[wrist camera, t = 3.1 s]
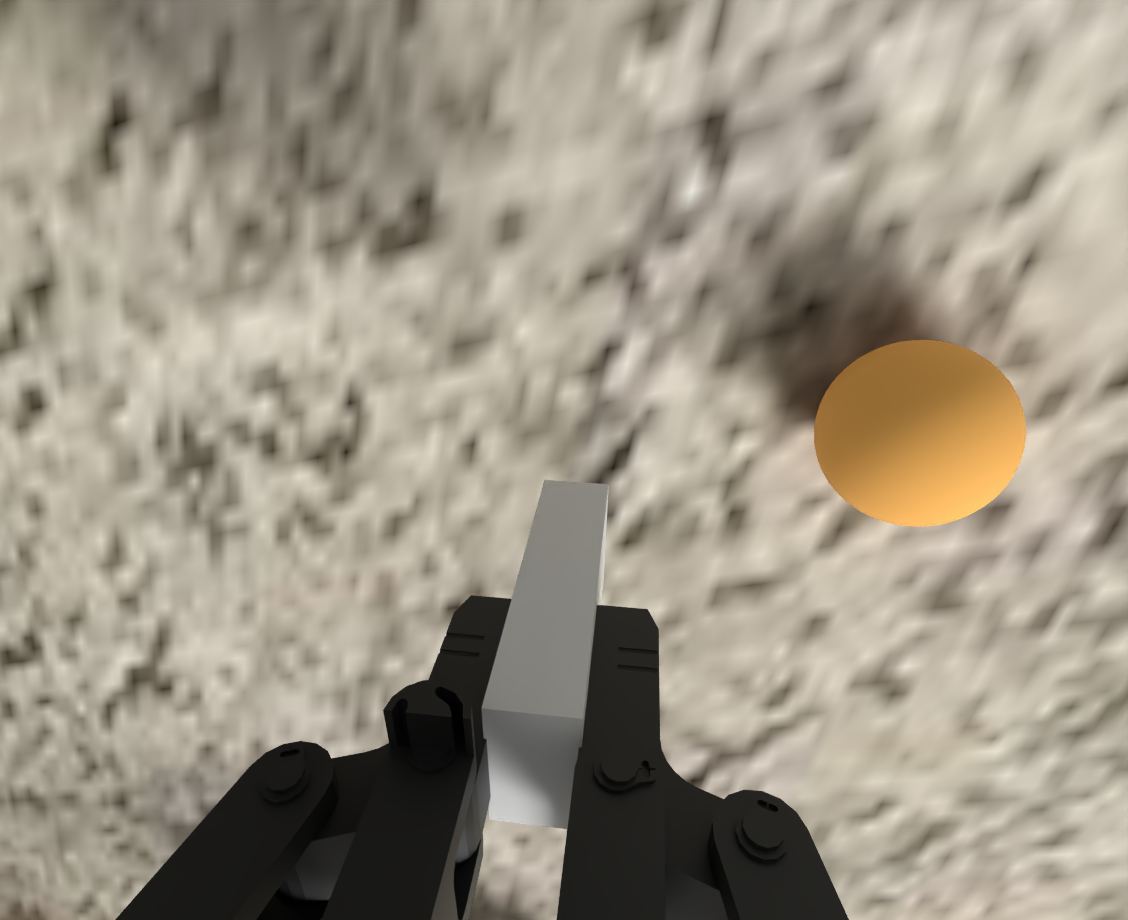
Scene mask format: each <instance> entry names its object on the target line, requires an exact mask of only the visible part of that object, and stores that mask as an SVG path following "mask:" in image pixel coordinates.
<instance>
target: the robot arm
mask: <svg viewBox="0 0 1128 920" xmlns="http://www.w3.org/2000/svg"><path fill="white" fill-rule="evenodd" d="M608 485H609V484H595V483H581V482H566V481H552V480H544V484H543V488H542V491H541V495H540V499H539V502H538V506H537V509H536V513H535V517H534V520H533V524H532V527H531V531H530V535H529V538H528V542H527V546H526V549H525V553H524V556H523V560H522V564H521V567H520V571H519V574H518V578H517V582H516V585H515V589H514V593H513V596H512V599H506V598H495V597H483V596H472V595H471V596H470V597H469V598H468V599H467V600H466V601H465V602H464V603H463V604H462V605H461V606H460V607H459V608H458V609H457V610H456V611H455V612H454V614H453V617H452V620H451V622H450V625H449V628H448V630H447V635H446V637H445V638H444V641H443V643H442V646H441V649H440V653H439V654H438V657H437V659H436V662H435V664H434V667H433V670H432V672H431V675H430V678H429V680H424V681H420V682H417V683H415V684H412V685H409V686H406V687H405V688H403V689H402V690H401V691H399V692H398V693H397V694H395V695H394V696H393V697H392V698H391V700H390V701H389V702H388V704H387V705H386V707H385V708H384V710H383V711H384V717H385V722H386V728H387V733H388V739H389V743H388V744H386V745H384V746H382V747H380V748H378V749H375V750H371V751H368V752H364V753H359V754H353V755H348V756H343V757H338V758H332V759H331V757H330V755H329V753H328V751H327V750H325V749H324V748H322V747H321V746H319V745H318V744H316V743H310V742H303V741H299V742H293V743H288V744H283V745H281V746H279V747H277V748H275V749H273V750H271V751H268V752H266V753H265V754H264V755H263V756H261V757H260V758H259V759H258V760H257V761H256V762H255V763H253V764H252V765H251V766H250V767H249V768H248V769H247V771H246V772H245V773H244V774H243V775H242V776H241V777H240V779H239V780H238V781H237V782H236V783H235V784H234V785H233V787H232V788H231V789H230V790H229V791H228V792H227V793H226V795H225V796H224V797H223V798H222V799H221V800H220V801H219V802H218V804H217V805H216V806H215V807H214V808H213V809H212V810H211V812H210V813H209V814H208V815H207V816H206V817H205V818H204V820H203V821H202V822H201V823H200V824H199V825H198V826H197V827H196V829H195V830H194V831H193V832H192V833H191V834H190V835H189V837H188V838H187V839H186V840H185V841H184V842H183V843H182V845H181V846H180V847H179V848H178V849H177V850H176V851H175V852H174V854H173V855H172V856H171V857H170V858H169V859H168V860H167V862H166V863H165V864H164V865H163V866H162V867H161V868H160V870H159V871H158V872H157V873H156V874H155V875H154V876H153V878H152V879H151V880H150V881H149V882H148V883H147V884H146V885H145V887H144V888H143V889H142V890H141V891H140V892H139V893H138V895H137V896H136V897H135V898H134V899H133V900H132V901H131V903H130V904H129V905H128V906H127V907H126V908H125V909H124V910H123V912H122V913H121V914H120V915H119V916H118V917H117V918H116V920H469V917H470V912H471V908H472V903H473V899H474V894H475V889H476V885H477V880H478V876H479V871H480V867H481V862H482V857H483V833H482V832H483V828H484V823H485V819H486V815H487V810H488V806H489V816H490V820H497V821H505V822H513V823H522V824H530V825H538V826H546V827H555V828H563V829H567V837H566V845H565V854H564V862H563V871H562V879H561V888H560V897H559V905H558V914H557V920H849V919H848V917H847V915H846V912H845V910H844V908H843V906H842V904H841V901H840V899H839V897H838V895H837V893H836V890H835V888H834V886H833V884H832V882H831V879H830V877H829V875H828V873H827V871H826V868H825V866H824V864H823V862H822V860H821V857H820V855H819V853H818V851H817V849H816V846H815V844H814V842H813V840H812V838H811V835H810V833H809V831H808V829H807V827H806V826H805V824H804V823H803V821H802V820H801V818H800V817H799V815H798V814H797V812H796V811H795V810H793V809H792V808H791V807H790V806H788V805H787V804H786V803H785V802H784V801H782V800H781V799H780V798H777V797H775V796H772V795H770V794H768V793H765V792H763V791H753V790H742V791H739V792H736V793H733V794H730V795H728V796H727V797H726V798H725V799H722V798H720V797H717V796H715V795H713V794H710V793H708V792H706V791H704V790H701V789H699V788H697V787H695V786H693V785H692V784H690V783H688V782H686V781H685V780H684V779H683V778H681V777H680V776H679V775H678V774H677V773H676V772H675V771H674V770H673V769H672V768H671V766H670V765H669V764H668V762H667V761H666V758H665V756H664V754H663V752H662V749H661V742H660V708H659V629H658V627H657V626H656V624H655V622H654V620H653V618H652V616H651V615H650V613H649V611H648V609H638V608H627V607H615V606H604V605H601V599H602V589H603V579H604V562H605V543H606V524H607V504H608Z"/></svg>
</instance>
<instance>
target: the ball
mask: <svg viewBox="0 0 1128 920" xmlns="http://www.w3.org/2000/svg"><path fill="white" fill-rule="evenodd" d="M1025 439H1026V423H1025V417H1024V412H1023V407H1022V405H1021V402H1020V399H1019V397H1018V395H1017V393H1016V391H1015V390H1014V388H1013V386H1012V385H1011V383H1010V381H1009V380H1008V379H1007V378H1006V377H1005V376H1004V375H1003V373H1002V372H1001V371H1000V370H999V369H998V368H997V367H996V366H994V365H993V364H992V363H991V362H990V361H988V360H987V359H985V358H984V357H982V356H980V355H978V354H977V353H975V352H973V351H971V350H969V349H966V348H964V347H961V346H958V345H955V344H951V343H947V342H943V341H934V340H909V341H901V342H897V343H893V344H889V345H886V346H883V347H880V348H877V349H875V350H873V351H871V352H869V353H867V354H865V355H863V356H862V357H860V358H858V359H857V360H855V361H854V362H853V363H851V364H850V365H849V366H847V367H846V368H845V369H844V370H843V371H842V372H841V373H840V374H839V375H838V376H837V377H836V378H835V380H834V381H833V382H832V383H831V385H830V386H829V388H828V389H827V391H826V393H825V394H824V396H823V398H822V401H821V403H820V406H819V409H818V412H817V415H816V420H815V426H814V444H815V450H816V455H817V458H818V461H819V464H820V467H821V469H822V471H823V473H824V475H825V477H826V478H827V480H828V482H829V483H830V484H831V486H832V487H833V488H834V490H835V491H836V492H837V493H838V494H839V495H840V496H841V497H842V498H843V499H844V500H845V501H846V502H848V503H849V504H850V505H852V506H853V507H855V508H856V509H858V510H859V511H861V512H863V513H865V514H866V515H868V516H870V517H873V518H876V519H879V520H881V521H884V522H888V523H892V524H896V525H904V526H934V525H939V524H945V523H948V522H952V521H955V520H958V519H960V518H963V517H966V516H968V515H970V514H972V513H974V512H976V511H977V510H979V509H981V508H982V507H984V506H985V505H986V504H988V503H989V502H990V501H992V500H993V499H994V498H995V497H996V496H997V495H998V494H1000V493H1001V491H1002V490H1003V489H1004V488H1005V487H1006V486H1007V484H1008V483H1009V482H1010V480H1011V479H1012V477H1013V475H1014V473H1015V471H1016V469H1017V467H1018V465H1019V463H1020V461H1021V458H1022V455H1023V452H1024V446H1025Z"/></svg>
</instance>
